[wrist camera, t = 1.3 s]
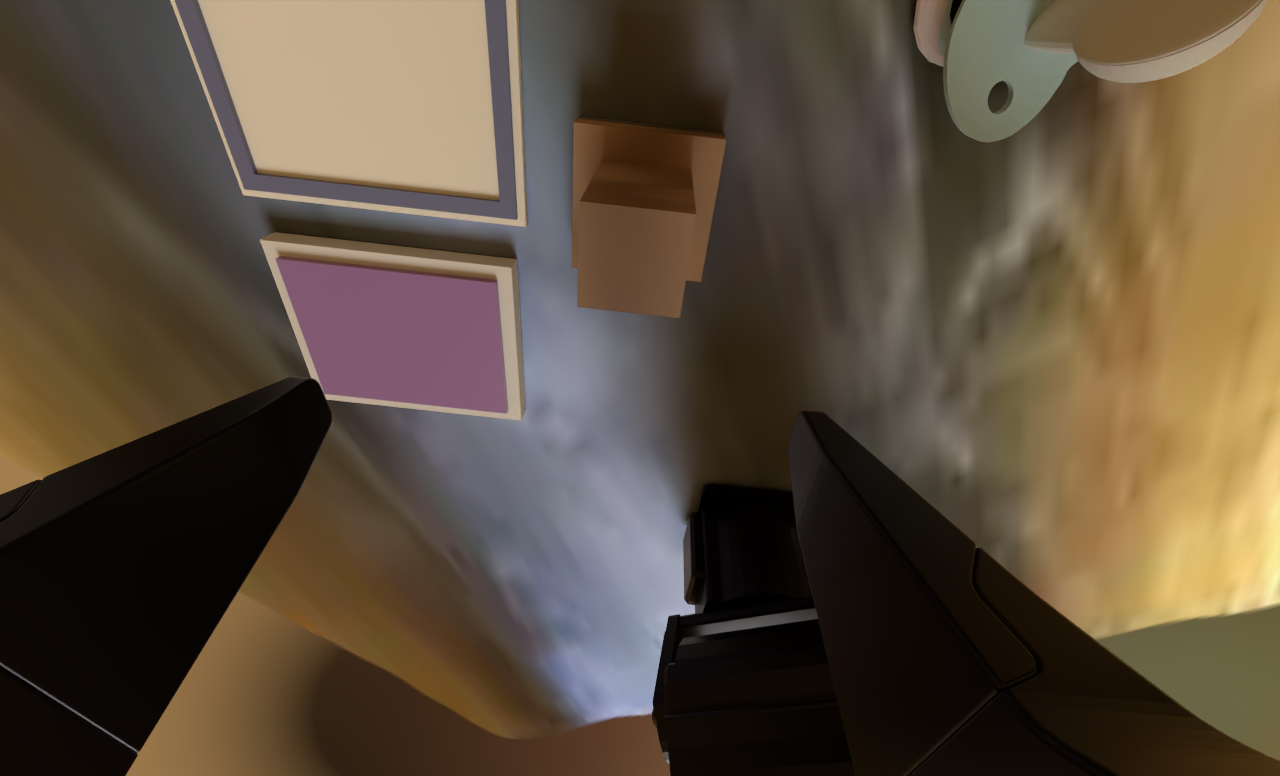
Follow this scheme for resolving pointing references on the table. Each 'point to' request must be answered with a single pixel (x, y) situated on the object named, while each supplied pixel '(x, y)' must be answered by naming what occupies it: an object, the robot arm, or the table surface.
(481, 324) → the ink pad
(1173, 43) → the pacifier
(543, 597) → the table surface
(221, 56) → the marked card
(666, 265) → the stamp
